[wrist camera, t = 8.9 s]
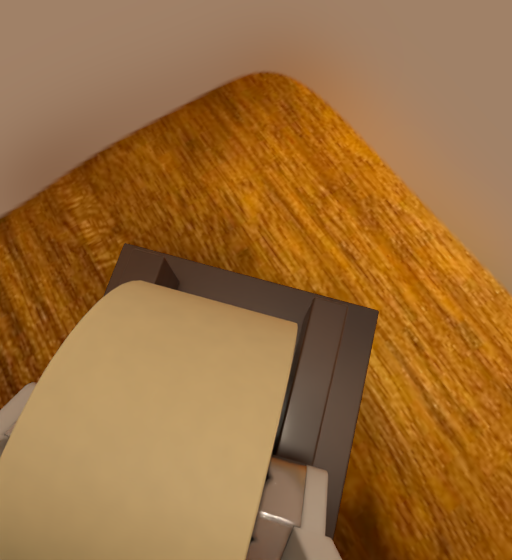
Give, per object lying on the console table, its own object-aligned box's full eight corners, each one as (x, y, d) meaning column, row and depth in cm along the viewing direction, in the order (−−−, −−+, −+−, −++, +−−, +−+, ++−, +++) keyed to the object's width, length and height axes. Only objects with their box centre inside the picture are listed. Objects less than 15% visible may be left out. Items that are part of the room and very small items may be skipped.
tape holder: (291, 712, 14) (304, 821, 10) (-9, 605, 15) (-98, 671, 11) (373, 315, 18) (403, 290, 14) (130, 250, 19) (99, 210, 15)
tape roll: (221, 609, 14) (166, 906, 6) (90, 565, 15) (-146, 780, 6) (288, 349, 17) (320, 283, 8) (175, 317, 17) (93, 222, 9)
